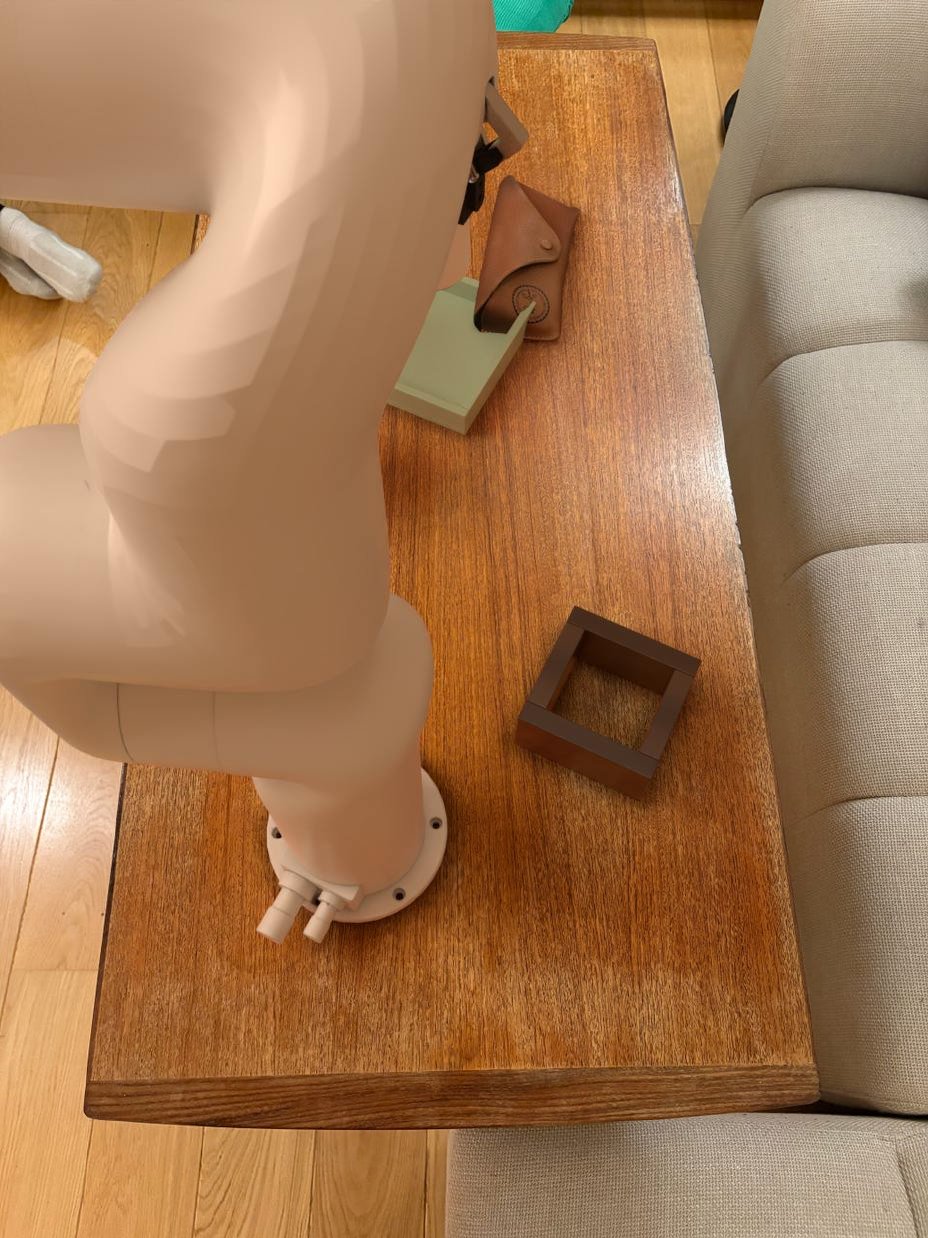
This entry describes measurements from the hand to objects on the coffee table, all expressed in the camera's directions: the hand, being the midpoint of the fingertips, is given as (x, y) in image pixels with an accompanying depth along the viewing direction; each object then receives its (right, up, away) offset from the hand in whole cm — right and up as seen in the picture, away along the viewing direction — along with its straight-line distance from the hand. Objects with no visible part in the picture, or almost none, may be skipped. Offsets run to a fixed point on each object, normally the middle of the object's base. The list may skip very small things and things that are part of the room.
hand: (425, 195), depth 77 cm
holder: (+13, -40, -1) cm, 42 cm away
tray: (0, -8, +15) cm, 17 cm away
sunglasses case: (+9, +1, +20) cm, 22 cm away
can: (0, -3, +7) cm, 7 cm away
